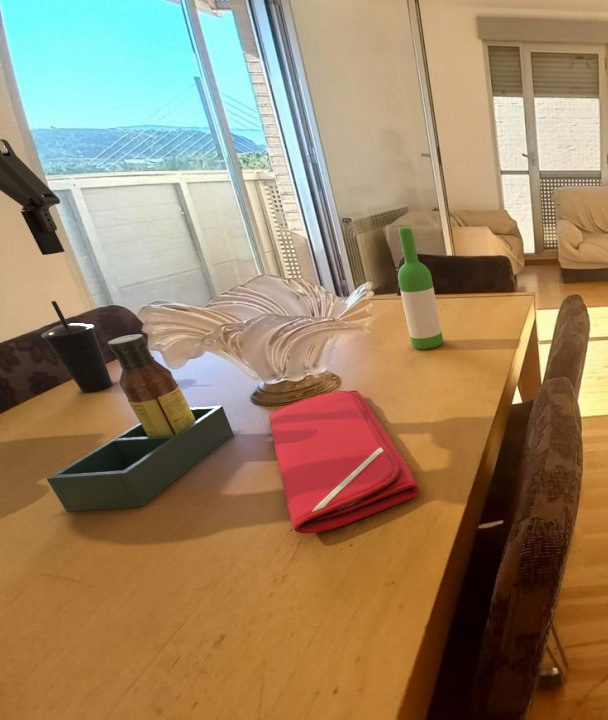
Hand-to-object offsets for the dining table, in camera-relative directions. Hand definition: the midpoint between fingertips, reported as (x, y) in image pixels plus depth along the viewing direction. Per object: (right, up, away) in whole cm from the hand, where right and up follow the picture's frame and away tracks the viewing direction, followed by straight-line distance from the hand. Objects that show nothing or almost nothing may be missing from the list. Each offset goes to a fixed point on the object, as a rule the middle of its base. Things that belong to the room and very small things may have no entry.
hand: (7, 255), depth 74 cm
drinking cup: (-21, -23, +32) cm, 44 cm away
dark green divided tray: (+22, -34, +2) cm, 40 cm away
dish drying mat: (+49, -32, +5) cm, 59 cm away
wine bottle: (+46, -13, +51) cm, 70 cm away
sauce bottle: (+21, -31, +6) cm, 39 cm away
